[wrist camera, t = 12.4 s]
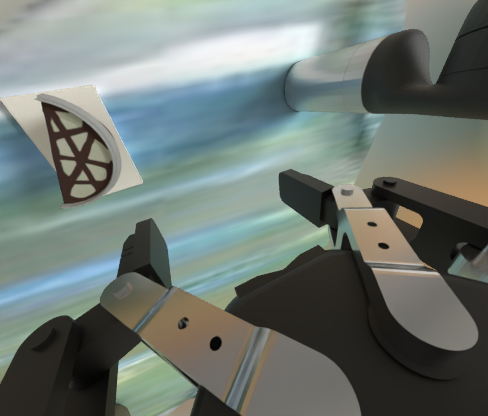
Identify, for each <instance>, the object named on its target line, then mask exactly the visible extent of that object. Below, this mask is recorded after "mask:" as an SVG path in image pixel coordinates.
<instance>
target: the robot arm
mask: <svg viewBox="0 0 488 416" xmlns="http://www.w3.org/2000/svg"><path fill="white" fill-rule="evenodd" d="M429 57H430V50H429V43H428V39H427V37H426V35H425V34H424V33H423V32H422V31H420V30H417V29H409V30H405V31H401V32H398V33H394V34H391V35H388V36H384V37H381V38H377V39H374V40H371V41H368V42H364V43H361V44H357V45H354V46H350V47H347V48H343V49H340V50H336V51H333V52H329V53H326V54H322V55H319V56H315V57H312V58H308V59H305V60H301V61H299V62H297V63H296V64H294V65H293V66H292V68H291V69H290V71H289V73H288V75H287V78H286V81H285V90H284V91H285V98H286V101H287V103H288V105H289V106H290V108H292V109H293V110H295V111H308V112H336V113H373V114H389V113H390V114H419V115H432V116H444V117H455V118H469V119H482V120H488V0H478V1H477V2H476V3H475V4H474V6H473V7H472V9H471V10H470V12H469V14H468V15H467V18H466V19H465V21H464V24H463V26H462V27H461V29H460V32H459V34H458V36H457V38H456V40H455V43H454V45H453V47H452V50H451V52H450V54H449V56H448V58H447V61H446V63H445V65H444V67H443V70H442V72H441V74H440V76H439V79H438V81H437V82H436V84H434V85H433V84H432V81H431V79H430V73H429ZM279 190H280V197H281V199H282V201H283V202H284V203H285V204H287V205H288V206H289V207H291V208H292V209H294V210H295V211H296V212H298V213H299V214H300V215H302V216H303V217H305V218H306V219H307V220H309V221H310V222H312V223H313V224H314V225H316V226H317V227H318V228H320V227H322V226H324V225H326V224H328V233H329V237H330V241H331V246H332V250H324V249H323V248H322V247H320V246H319V245H317V246H315V247H313V248H312V249H310V250H308V251H306V252H304V253H302V254H300V255H299V256H298V257H297V258H296V259H294V260H293V261H292V262H291V263H290V264H289V265H288V266H287V267H286V268H285V269H283V270H280V271H276V272H272V273H268V274H264V275H260V276H257V277H255V278H253V279H251V280H249V281H247V282H245V283H243V284H241V285H239V286H237V287H235V291H236V294H237V296H236V297H235V298H234V299H233V300H232V301H231V302H230V303H229V305H228V306H227V307H226V309H225V310H222V309H220V308H218V307H216V306H214V305H212V304H210V303H208V302H206V301H204V300H202V299H200V298H198V297H196V296H194V295H192V294H190V293H188V292H186V291H184V290H182V289H180V288H178V287H175V286H172V284H171V275H170V267H169V258H168V249H167V245H166V243H165V240H164V238H163V237H162V235H161V233H160V231H159V229H158V227H157V226H156V224H155V222H154V220H153V219H152V218H150V219H147V220H144V221H141V222H139V223H137V224H136V230H135V234H133V235H130V236H129V237H128V238H127V240H126V241H125V242H124V244H123V249H122V251H123V252H122V254H121V259H120V264H119V269H118V274H117V278H116V279H115V280H113V281H112V282H111V283H110V284H109V285H108V286H107V287H106V288H105V289H104V291H103V292H102V294H101V297H100V303H99V304H98V305H96V306H95V307H93V308H92V309H90V310H89V311H87V312H86V313H84V314H83V315H82V316H80V317H79V318H77V319H76V320H73V319H72V318H71V317H69V316H65V315H64V316H59V317H56V318H53V319H51V320H49V321H48V322H46V323H44V324H43V325H42V326H40V327H39V328H38V329H36V330H35V331H34V332H33V333H32V334H31V335H30V336H29V337H28V338H27V339H26V340H25V341H24V342H23V343H22V344H21V346H20V347H19V349H18V350H17V352H16V354H15V356H14V358H13V360H12V362H11V364H10V366H9V368H8V370H7V372H6V374H5V376H4V378H3V380H2V382H1V384H0V416H115V403H116V389H117V375H118V362H119V360H120V359H121V358H122V357H124V356H125V355H126V354H127V353H128V352H129V351H130V350H132V349H133V348H134V347H135V346H136V345H137V344H139V343H140V342H142V343H143V344H145V345H146V346H147V347H148V348H150V349H151V350H152V351H153V352H154V353H156V354H157V355H158V356H159V357H160V358H162V359H163V360H164V361H165V362H167V363H168V364H169V365H170V366H171V367H173V368H174V369H175V370H176V371H177V372H178V373H179V374H181V375H182V376H183V377H184V378H185V379H187V380H188V381H189V382H190V383H191V384H193V385H194V386H195V387H196V388H197V389H198V391H197V394H196V398H195V401H194V405H193V408H192V411H191V415H190V416H488V207H486V206H483V205H480V204H477V203H473V202H470V201H467V200H464V199H461V198H457V197H455V196H452V195H448V194H445V193H442V192H439V191H436V190H433V189H429V188H427V187H423V186H420V185H417V184H414V183H411V182H408V181H405V180H401V179H398V178H393V177H381V178H377V179H375V180H374V181H373V186H372V188H368V189H363V190H362V189H361V188H359V187H358V186H355V185H350V184H342V185H337V186H335V187H334V186H332V185H330V184H327V183H325V182H323V181H320V180H318V179H316V178H314V177H311V176H309V175H306V174H301V173H299V172H297V171H294V170H292V169H289V170H286V171H283V172H281V173H279ZM399 206H402V207H405V208H407V209H409V210H412V211H414V212H416V213H418V214H419V215H420V216H421V217H422V218H423V223H422V226H421V228H420V229H419V228H417V227H415V226H412V225H410V224H408V223H406V222H404V221H402V220H400V219H398V218H396V214H397V211H398V209H399ZM420 260H421V261H422V262H424V263H426V264H427V265H429V266H430V267H432V268H434V269H435V270H433V269H430V268H427V267H425V266H424V265H423V264H422V262H421V261H420ZM436 270H437V271H436Z"/></svg>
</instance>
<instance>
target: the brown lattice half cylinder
mask: <svg viewBox="0 0 488 416" xmlns="http://www.w3.org/2000/svg"><path fill="white" fill-rule="evenodd" d="M34 100H37V101H41V105H42V111H43V113H44V117H45V121H46V125H47V130H48V135H49V140H50V146H51V152H52V157H53V162H54V165H55V168H56V172H57V175H58V179H59V183H60V188H61V192H62V196H63V201H64V203H63V204H62V206H61V208H60V209H63V208H72V207H78V206H82V205H86V204H89V203H91V202H93V201H95V200H98V199H99V198H100V197H102V196H103V195H105V194H106V193H108V192H109V191H110V190H111V189H112V188H113V187H114V185H115V184H116V183H117V181H118V179H119V176H120V173H121V155H120V152H119V149H118V146H117V144H116V142H115V139H114V137H113V136H112V134H111V133H110V131H109V130H108V129H107V128H106V127H105V126H104V125H103V124H102V123H101V122H99V121H98V120H97V119H96V118H94V117H93V116H92V115H91V114H89V113H88V112H86V111H85V110H83V109H82V108H80V107H78V106H76V105H74V104H72V103H70V102H68V101H66V100H63V99H60V98H58V97H55V96H51V95H48V94H44V93H41V94H39V95H37V98H35V99H34Z"/></svg>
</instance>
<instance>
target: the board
mask: <svg viewBox="0 0 488 416" xmlns="http://www.w3.org/2000/svg"><path fill="white" fill-rule="evenodd" d="M41 93H44V94H48V95H51V96H55V97H58V98H60V99H63V100H66V101H68V102H70V103H72V104H74V105H76V106H78V107H80V108H82V109H83V110H85V111H86V112H88V113H89V114H91V115H92V116H93V117H94V118H96V119H97V120H98V121H99V122H101V123H102V124H103V125H104V126H105V127H106V128H107V129H108V130H109V131H110V133H111V134H112V136H113V137H114V139H115V142H116V144H117V146H118V149H119V152H120V155H121V173H120V176H119V179H118V181H117V183H116V184H115V185H114V187H113V188H112V189H111V190H110V191H109V192H108V193H106V194H105V195H107V194H110V193H113V192H117V191H120V190H123V189H126V188H130V187H133V186H136V185H139V184H143V180H142V178H141V176H140V174H139V172H138V170H137V168H136V166H135V164H134V162H133V160H132V158H131V156H130V154H129V152H128V150H127V148H126V146H125V144H124V142H123V140H122V138H121V136H120V134H119V132H118V130H117V129H116V127H115V125H114V123H113V121H112V119H111V117H110V115H109V113H108V111H107V109H106V107H105V105H104V103H103V101H102V99H101V97H100V95H99V93H98V91H97V89H96V87H95V86H94V85H88V86H81V87H74V88H68V89H61V90H54V91H47V92H40V93H34V94H27V95H20V96H13V97H6V98H0V100H1V101H2V103H3V104H4V105H5V106H6V108H7V109H8V110H9V112H10V113H11V114H12V115H13V117H14V118H15V119H16V121H17V122H18V123H19V125H20V126H21V127H22V128H23V130H24V131H25V132H26V134H27V135H28V136H29V137H30V139H31V140H32V141H33V143H34V144H35V145H36V146H37V148H38V149H39V150H40V152H41V153H42V154H43V155H44V157H45V158H46V159H47V161H48V162H49V163H50V165H51V166H52V167H53V168H54V170H55V171H56V168H55V165H54V162H53V157H52V152H51V146H50V140H49V135H48V130H47V125H46V121H45V117H44V113H43V111H42V105H41V101H37V100H34V99H35V98H37V95H39V94H41ZM103 196H104V195H103Z"/></svg>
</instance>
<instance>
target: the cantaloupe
mask: <svg viewBox="0 0 488 416" xmlns="http://www.w3.org/2000/svg"><path fill="white" fill-rule="evenodd" d="M115 416H130V413H129V411H128V409H127V408H126V407H125V406H123V405H119V404H115Z"/></svg>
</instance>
